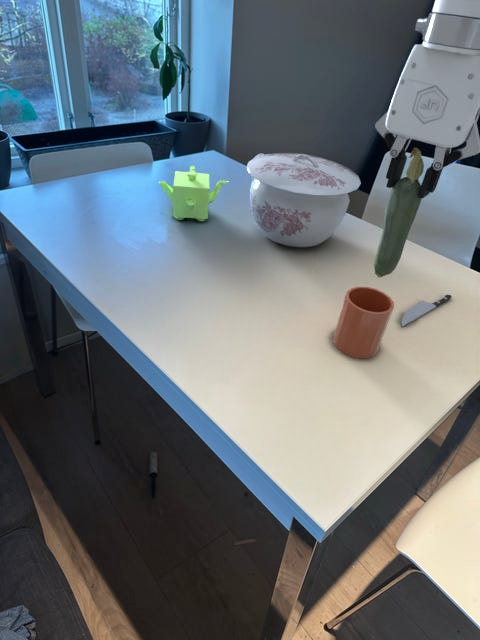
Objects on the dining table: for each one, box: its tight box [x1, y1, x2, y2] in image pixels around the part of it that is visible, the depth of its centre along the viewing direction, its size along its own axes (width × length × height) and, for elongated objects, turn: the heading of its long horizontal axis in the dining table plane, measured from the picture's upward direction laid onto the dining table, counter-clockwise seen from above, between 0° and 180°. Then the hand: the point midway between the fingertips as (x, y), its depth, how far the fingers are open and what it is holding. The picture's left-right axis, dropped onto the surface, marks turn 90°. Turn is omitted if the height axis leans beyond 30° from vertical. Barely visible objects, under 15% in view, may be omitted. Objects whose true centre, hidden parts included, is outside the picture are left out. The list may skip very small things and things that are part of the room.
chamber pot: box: [246, 152, 362, 248], centre depth 111 cm, size 28×28×21 cm
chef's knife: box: [401, 294, 453, 327], centre depth 94 cm, size 19×1×3 cm
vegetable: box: [373, 146, 425, 279], centre depth 65 cm, size 4×4×20 cm
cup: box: [332, 286, 395, 359], centre depth 80 cm, size 8×8×10 cm
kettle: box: [158, 164, 230, 222], centre depth 117 cm, size 15×14×11 cm
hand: (408, 189), depth 62 cm, fingers closed on vegetable, 3 cm apart
